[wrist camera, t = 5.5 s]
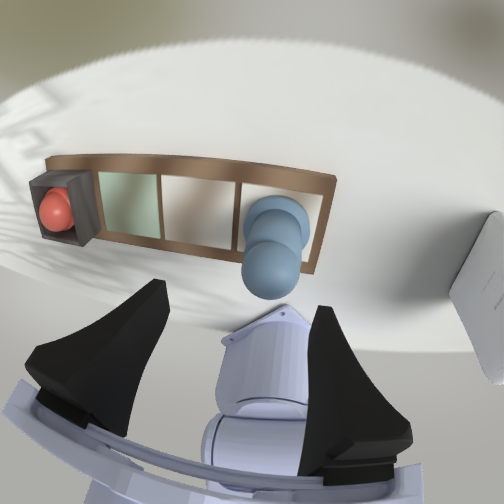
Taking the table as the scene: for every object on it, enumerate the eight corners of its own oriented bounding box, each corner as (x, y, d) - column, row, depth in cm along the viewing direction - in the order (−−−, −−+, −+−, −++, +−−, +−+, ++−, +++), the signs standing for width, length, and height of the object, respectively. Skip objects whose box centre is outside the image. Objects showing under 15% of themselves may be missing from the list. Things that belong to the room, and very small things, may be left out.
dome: (82, 181, 19) (53, 199, 16) (89, 222, 22) (64, 244, 19) (53, 180, 20) (26, 197, 17) (61, 218, 22) (37, 238, 19)
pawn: (274, 262, 21) (264, 331, 16) (232, 221, 20) (205, 282, 14) (322, 229, 19) (331, 295, 13) (280, 181, 18) (271, 233, 12)
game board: (335, 175, 18) (343, 196, 15) (313, 267, 23) (314, 300, 19) (51, 156, 20) (23, 170, 17) (65, 227, 24) (42, 246, 21)
